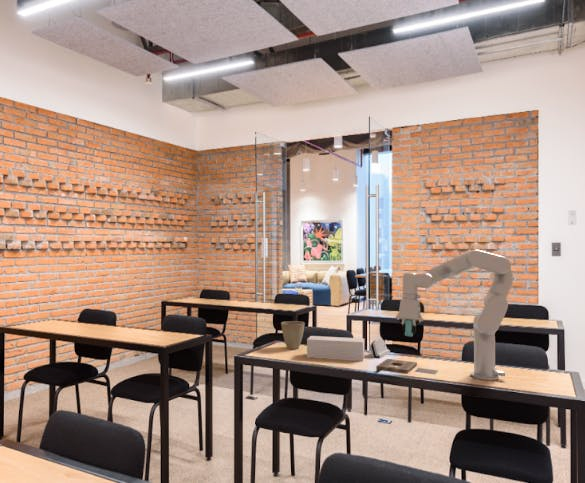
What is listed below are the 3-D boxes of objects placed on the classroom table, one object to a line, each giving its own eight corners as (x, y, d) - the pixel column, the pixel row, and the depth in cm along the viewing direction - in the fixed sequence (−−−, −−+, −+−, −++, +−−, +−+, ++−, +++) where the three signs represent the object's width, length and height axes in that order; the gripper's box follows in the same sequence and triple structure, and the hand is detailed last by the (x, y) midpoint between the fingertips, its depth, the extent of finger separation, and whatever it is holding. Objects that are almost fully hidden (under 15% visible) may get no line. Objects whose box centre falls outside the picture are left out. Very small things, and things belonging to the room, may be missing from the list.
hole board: (416, 368, 239) (416, 362, 239) (407, 376, 223) (407, 369, 223) (387, 364, 247) (387, 358, 247) (376, 371, 231) (376, 365, 231)
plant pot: (304, 345, 293) (304, 320, 294) (305, 350, 278) (305, 324, 279) (281, 345, 293) (281, 320, 293) (280, 350, 278) (280, 324, 279)
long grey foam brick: (306, 357, 261) (307, 339, 261) (310, 353, 271) (310, 335, 272) (362, 361, 254) (363, 342, 254) (364, 357, 264) (364, 338, 264)
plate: (438, 373, 229) (438, 370, 229) (434, 377, 222) (434, 374, 222) (418, 370, 233) (418, 367, 233) (414, 374, 226) (414, 371, 226)
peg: (413, 335, 233) (414, 319, 233) (411, 336, 229) (412, 320, 229) (406, 334, 235) (406, 319, 235) (404, 335, 231) (404, 320, 231)
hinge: (380, 358, 260) (374, 341, 262) (373, 360, 263) (367, 343, 265) (390, 352, 274) (385, 336, 276) (383, 354, 277) (378, 338, 279)
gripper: (428, 297, 232) (427, 333, 231) (395, 295, 240) (394, 329, 239) (424, 298, 225) (423, 335, 225) (391, 296, 233) (390, 331, 233)
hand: (408, 332), depth 232 cm, fingers closed on peg, 4 cm apart
